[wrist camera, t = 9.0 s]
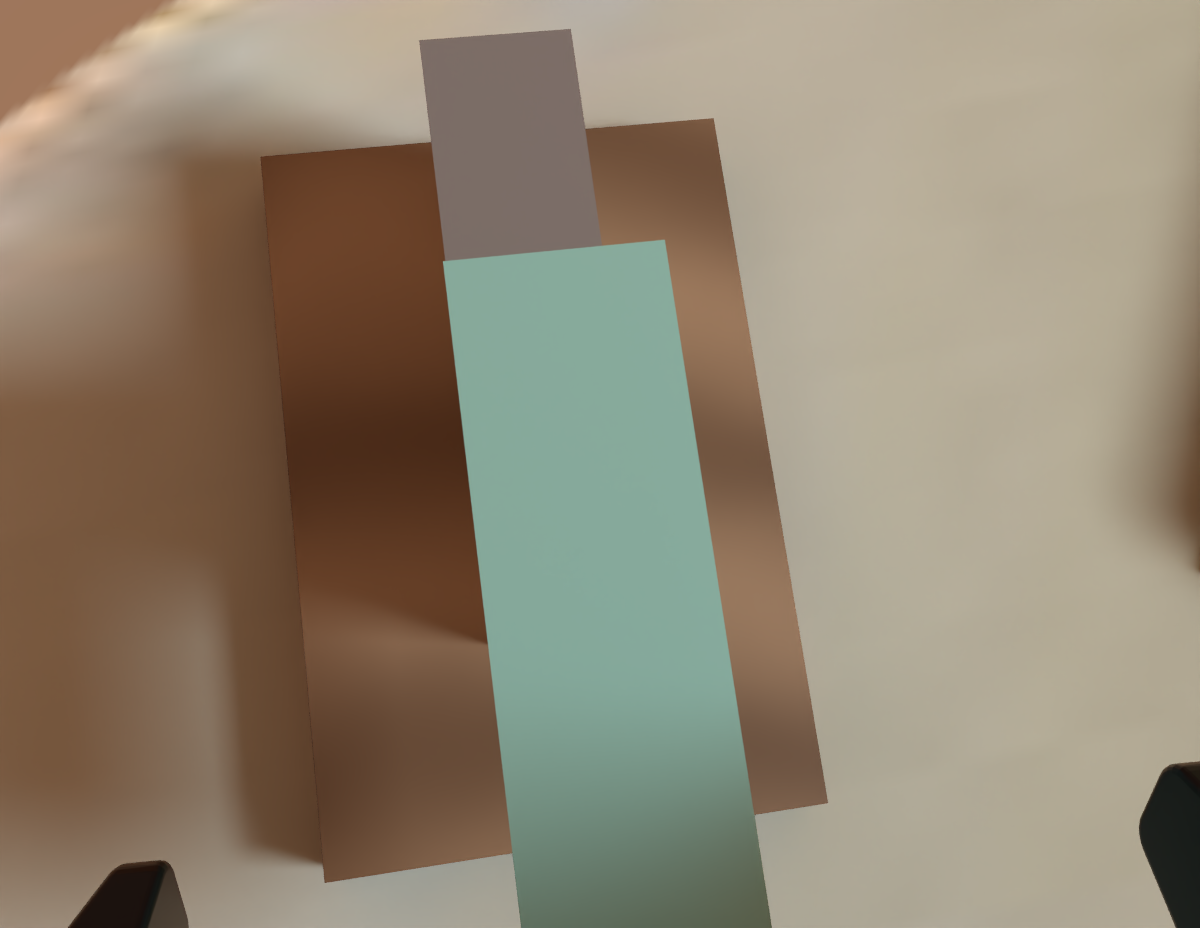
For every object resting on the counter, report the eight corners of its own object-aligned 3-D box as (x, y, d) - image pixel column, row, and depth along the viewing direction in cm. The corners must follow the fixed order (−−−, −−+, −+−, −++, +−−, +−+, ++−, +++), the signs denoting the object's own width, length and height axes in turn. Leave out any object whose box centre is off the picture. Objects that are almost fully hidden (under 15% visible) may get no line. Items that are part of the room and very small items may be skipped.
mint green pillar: (716, 1036, 15) (815, 1209, 10) (542, 1068, 15) (559, 1259, 10) (619, 360, 17) (664, 240, 12) (460, 377, 17) (443, 261, 12)
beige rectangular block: (618, 628, 22) (655, 617, 17) (493, 645, 22) (490, 640, 16) (555, 174, 24) (570, 28, 18) (439, 184, 23) (418, 40, 18)
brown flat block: (807, 794, 23) (828, 802, 22) (336, 868, 22) (324, 882, 21) (701, 149, 26) (713, 118, 24) (275, 187, 25) (260, 156, 23)
